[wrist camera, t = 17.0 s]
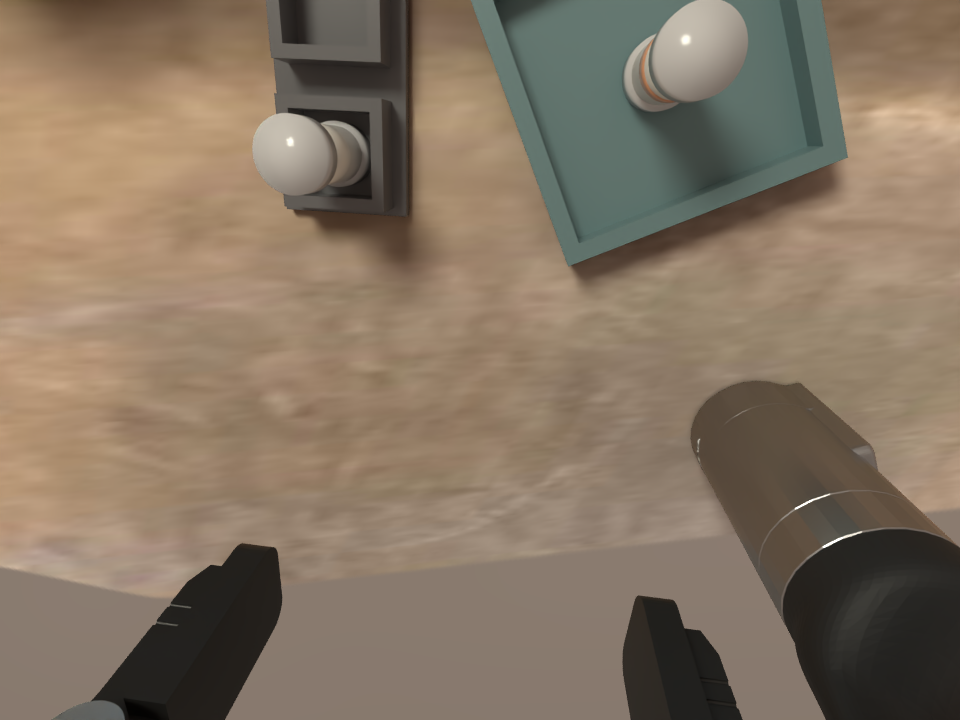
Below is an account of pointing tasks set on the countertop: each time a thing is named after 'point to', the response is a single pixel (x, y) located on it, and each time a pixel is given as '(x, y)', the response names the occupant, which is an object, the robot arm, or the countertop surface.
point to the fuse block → (348, 90)
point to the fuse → (309, 153)
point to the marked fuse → (687, 57)
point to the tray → (657, 114)
